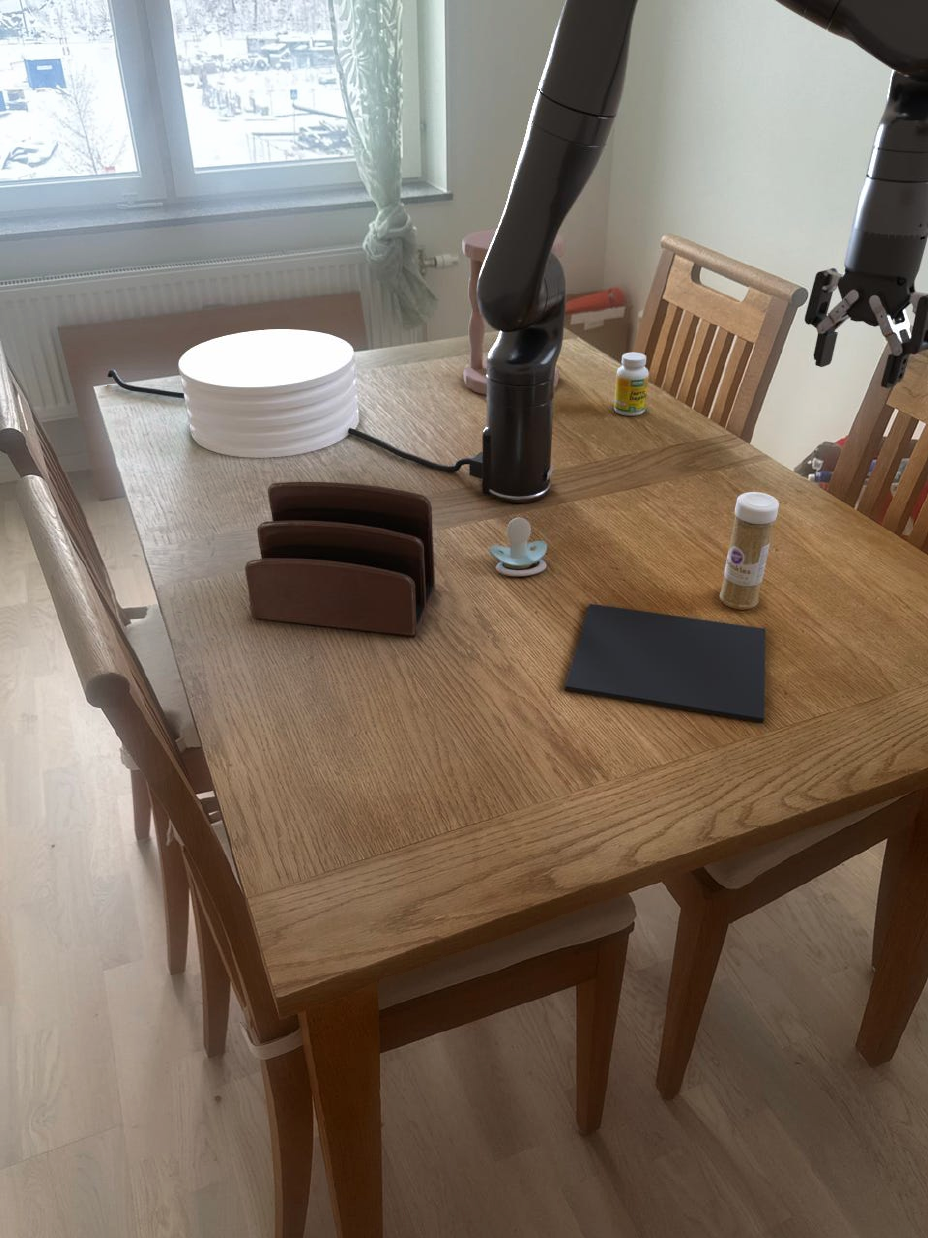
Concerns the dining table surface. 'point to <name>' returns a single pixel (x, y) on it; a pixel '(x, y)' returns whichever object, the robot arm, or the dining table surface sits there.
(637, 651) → the placemat
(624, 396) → the supplement bottle
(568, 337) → the dining table surface
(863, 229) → the robot arm
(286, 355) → the plate stack
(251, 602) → the letter holder
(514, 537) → the pacifier
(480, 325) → the hourglass
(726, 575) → the sprinkles bottle
